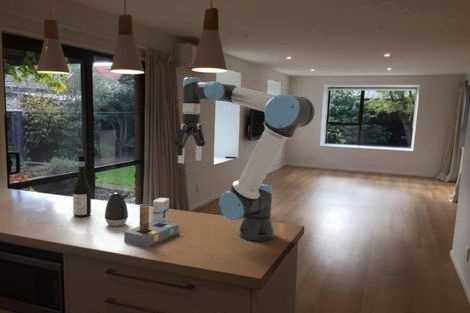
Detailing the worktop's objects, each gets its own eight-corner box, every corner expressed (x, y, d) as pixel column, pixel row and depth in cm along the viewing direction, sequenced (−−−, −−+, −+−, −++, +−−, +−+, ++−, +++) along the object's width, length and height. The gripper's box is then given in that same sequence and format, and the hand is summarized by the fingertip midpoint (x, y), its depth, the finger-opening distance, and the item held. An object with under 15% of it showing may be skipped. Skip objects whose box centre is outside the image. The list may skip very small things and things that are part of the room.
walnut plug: (150, 238, 151) (151, 204, 149) (144, 240, 148) (144, 206, 146) (143, 236, 153) (143, 203, 151) (137, 239, 149) (137, 205, 148)
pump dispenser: (124, 228, 165) (124, 195, 164) (101, 227, 165) (101, 194, 164) (131, 222, 176) (131, 190, 174) (109, 221, 175) (109, 189, 174)
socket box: (178, 233, 161) (178, 223, 160) (147, 247, 143) (148, 236, 143) (156, 228, 166) (156, 219, 166) (124, 241, 149) (124, 231, 148)
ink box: (162, 227, 169) (162, 202, 168) (152, 226, 170) (152, 201, 169) (169, 222, 177) (169, 198, 176) (159, 221, 178) (160, 197, 177)
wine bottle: (84, 218, 179) (84, 156, 176) (70, 217, 180) (69, 155, 177) (94, 214, 187) (93, 155, 184) (79, 213, 188) (79, 154, 185)
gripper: (199, 114, 175) (198, 158, 177) (166, 112, 153) (165, 163, 155) (213, 114, 172) (211, 159, 174) (181, 113, 150) (180, 165, 152)
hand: (190, 161), depth 165 cm, fingers open, 13 cm apart
